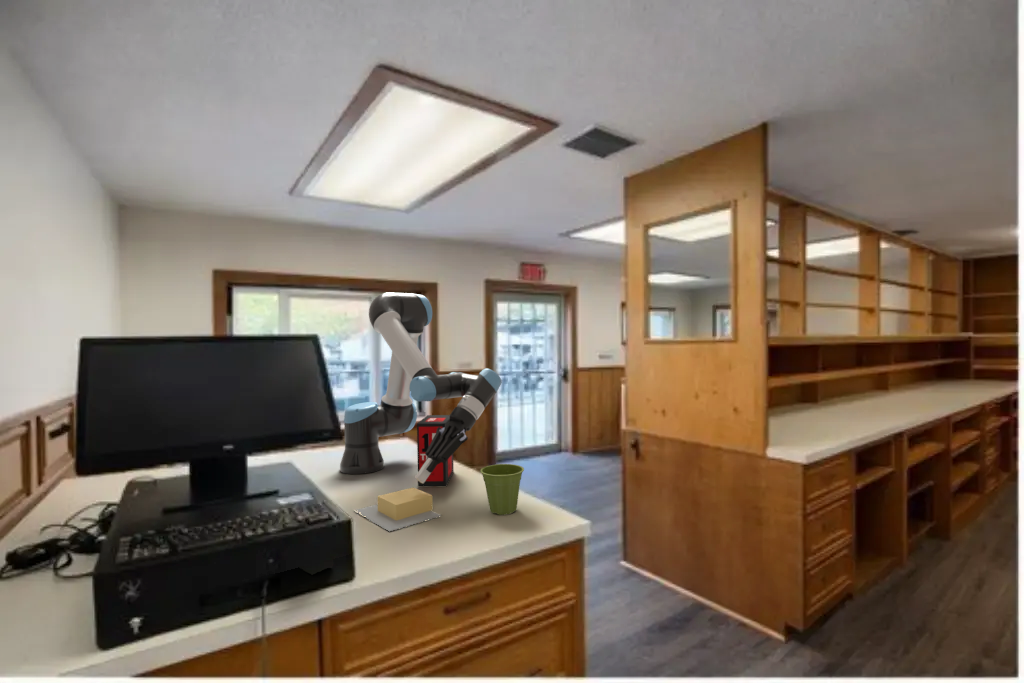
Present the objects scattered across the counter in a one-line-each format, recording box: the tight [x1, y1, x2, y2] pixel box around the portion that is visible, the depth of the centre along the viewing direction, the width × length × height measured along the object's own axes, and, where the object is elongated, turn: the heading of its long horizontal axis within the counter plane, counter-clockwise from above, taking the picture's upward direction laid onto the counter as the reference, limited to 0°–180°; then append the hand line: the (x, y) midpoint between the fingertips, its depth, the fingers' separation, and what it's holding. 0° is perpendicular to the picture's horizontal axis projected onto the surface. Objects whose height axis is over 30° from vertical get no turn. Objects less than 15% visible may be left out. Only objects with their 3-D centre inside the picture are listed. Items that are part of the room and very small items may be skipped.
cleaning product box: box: [416, 414, 454, 487], centre depth 164 cm, size 16×9×20 cm, turn 179°
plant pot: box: [479, 463, 525, 516], centre depth 133 cm, size 12×12×11 cm
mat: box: [356, 503, 442, 533], centre depth 132 cm, size 20×15×1 cm
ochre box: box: [377, 486, 434, 521], centre depth 134 cm, size 10×4×11 cm
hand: (418, 480), depth 137 cm, fingers closed
